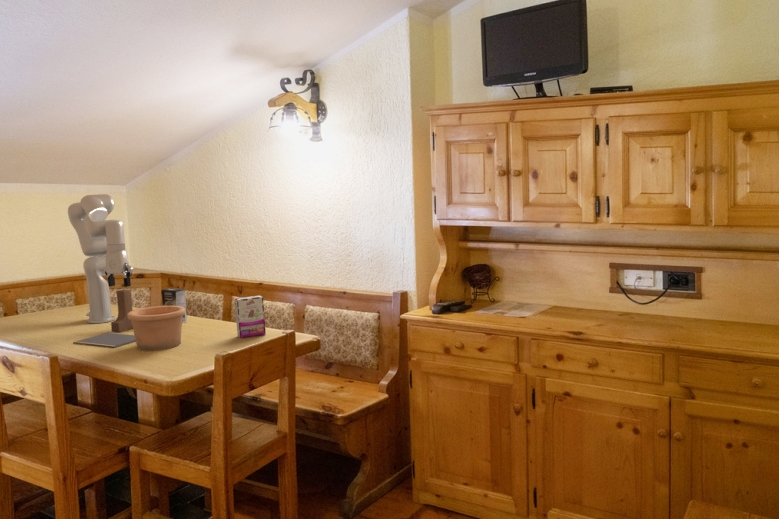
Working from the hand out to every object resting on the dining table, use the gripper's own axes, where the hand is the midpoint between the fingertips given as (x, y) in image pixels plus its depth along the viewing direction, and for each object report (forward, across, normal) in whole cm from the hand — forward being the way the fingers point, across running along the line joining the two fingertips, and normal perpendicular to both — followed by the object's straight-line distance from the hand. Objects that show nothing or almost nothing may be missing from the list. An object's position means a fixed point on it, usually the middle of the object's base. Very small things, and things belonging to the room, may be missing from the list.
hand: (119, 286), depth 287 cm
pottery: (+21, +37, -16) cm, 46 cm away
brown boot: (+20, -1, 0) cm, 20 cm away
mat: (+20, +10, -16) cm, 28 cm away
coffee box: (+20, +11, +20) cm, 31 cm away
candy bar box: (+22, +63, +10) cm, 68 cm away
